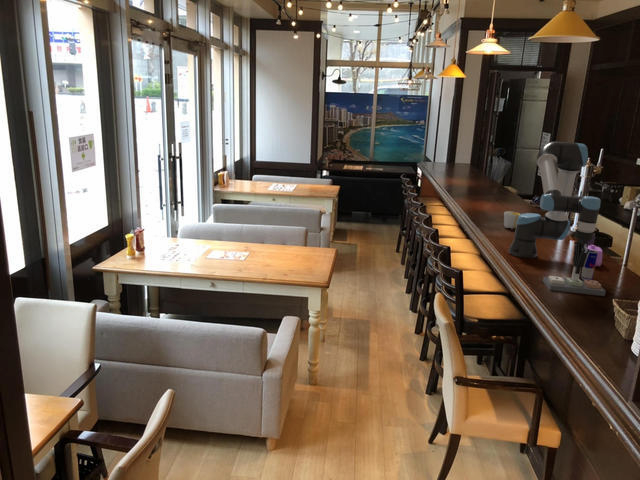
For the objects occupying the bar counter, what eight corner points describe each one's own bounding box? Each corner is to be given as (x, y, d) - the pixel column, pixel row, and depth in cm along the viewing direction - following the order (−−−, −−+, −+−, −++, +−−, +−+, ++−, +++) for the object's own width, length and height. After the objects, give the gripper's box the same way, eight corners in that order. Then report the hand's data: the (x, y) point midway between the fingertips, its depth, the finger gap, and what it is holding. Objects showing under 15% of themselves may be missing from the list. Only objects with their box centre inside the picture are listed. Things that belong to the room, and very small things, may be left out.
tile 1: (547, 281, 245) (548, 275, 244) (559, 283, 244) (561, 276, 244) (550, 285, 240) (552, 279, 239) (563, 287, 239) (564, 280, 238)
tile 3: (582, 285, 243) (584, 279, 242) (595, 286, 242) (596, 280, 241) (587, 289, 238) (588, 283, 237) (599, 291, 237) (601, 284, 236)
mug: (502, 228, 349) (505, 213, 346) (501, 225, 358) (503, 210, 355) (523, 231, 346) (526, 216, 343) (521, 227, 356) (524, 212, 353)
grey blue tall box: (588, 282, 252) (594, 252, 248) (578, 278, 256) (584, 250, 252) (593, 280, 255) (600, 251, 251) (583, 277, 259) (589, 248, 255)
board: (542, 281, 249) (543, 276, 248) (595, 286, 246) (596, 282, 245) (549, 290, 237) (550, 285, 237) (604, 296, 234) (605, 291, 233)
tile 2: (565, 283, 244) (566, 277, 243) (577, 284, 243) (579, 278, 243) (568, 287, 239) (570, 281, 238) (581, 289, 238) (582, 282, 237)
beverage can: (576, 250, 307) (580, 231, 303) (589, 252, 305) (593, 232, 302) (579, 254, 300) (584, 234, 297) (593, 255, 299) (597, 235, 295)
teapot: (576, 256, 294) (579, 239, 291) (596, 259, 291) (600, 242, 288) (581, 266, 277) (585, 247, 274) (603, 269, 274) (607, 250, 272)
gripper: (571, 226, 240) (562, 274, 247) (581, 233, 228) (570, 283, 234) (588, 228, 239) (578, 275, 246) (599, 235, 227) (588, 285, 233)
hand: (574, 279), depth 240 cm, fingers closed
